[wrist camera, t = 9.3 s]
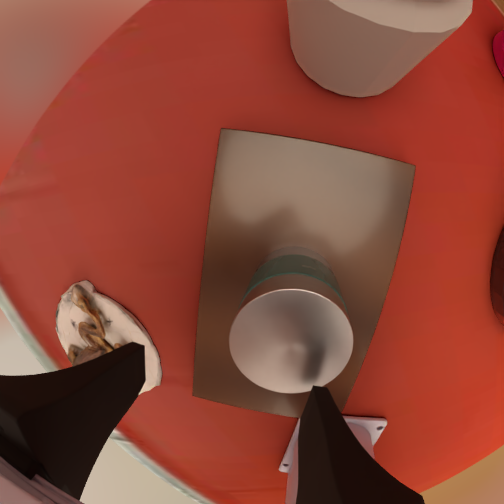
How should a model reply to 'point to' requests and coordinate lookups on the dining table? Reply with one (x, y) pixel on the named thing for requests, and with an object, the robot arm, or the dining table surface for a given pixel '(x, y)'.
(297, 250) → the tin can
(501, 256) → the pan
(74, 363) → the frog figurine
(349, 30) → the can
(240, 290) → the board
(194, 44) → the dining table surface
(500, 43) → the pepper mill
